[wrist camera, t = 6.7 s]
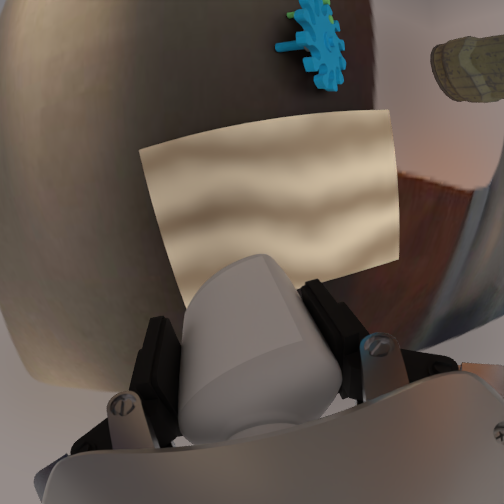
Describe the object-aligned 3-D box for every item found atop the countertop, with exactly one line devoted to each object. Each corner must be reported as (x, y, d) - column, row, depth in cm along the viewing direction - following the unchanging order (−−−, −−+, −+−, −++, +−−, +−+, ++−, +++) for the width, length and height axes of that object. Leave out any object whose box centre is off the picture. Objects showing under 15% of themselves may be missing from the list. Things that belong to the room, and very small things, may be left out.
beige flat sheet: (140, 149, 24) (138, 150, 23) (384, 110, 25) (388, 109, 25) (189, 311, 31) (188, 315, 30) (395, 256, 32) (398, 259, 31)
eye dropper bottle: (170, 269, 13) (125, 541, 2) (282, 245, 14) (439, 477, 3) (193, 338, 15) (200, 560, 4) (291, 317, 15) (386, 519, 4)
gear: (348, 107, 23) (306, 58, 15) (295, 107, 27) (238, 67, 19) (352, 25, 21) (314, -32, 13) (304, 29, 24) (256, -19, 16)
